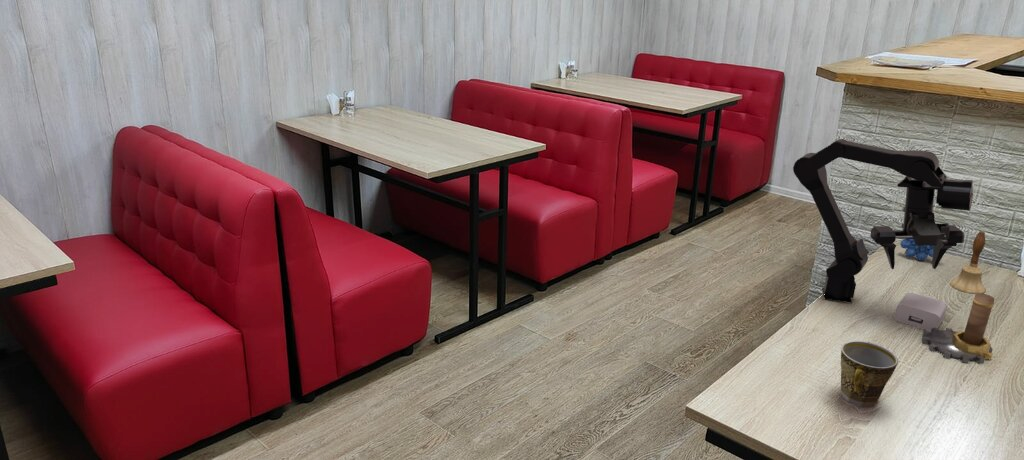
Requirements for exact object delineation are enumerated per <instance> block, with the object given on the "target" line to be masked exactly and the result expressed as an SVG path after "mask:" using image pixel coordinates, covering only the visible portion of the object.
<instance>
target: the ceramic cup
mask: <svg viewBox="0 0 1024 460" xmlns="http://www.w3.org/2000/svg"><path fill="white" fill-rule="evenodd" d="M840 351H841V352H840V370H841V371H840V393H841V396H842V397H843V398H844V399H845V400H846V402H848V403H850V404H852V405H854V406H858V407H860V408H865V407H868V408H869V407H872V408H873V407H875V406H876V405H877V403H878V402H879V400H880V397H881V395H882V393H883V391H884V389H885V387H886V385H887V384H888V382H889V380H890V379H891V377H892V376H893V374H894V372H895V370H896V368H897V366H898V363H899V360H898V357H897V356H896V355H895V354H894V353H893V352H892V351H891V350H889V349H887V348H886V347H884V346H882V345H878V344H876V343H872V342H867V341H860V340H859V341H858V340H854V341H853V340H852V341H849V342H846V343H844V344H842V346H841V350H840Z"/></svg>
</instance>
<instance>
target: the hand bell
mask: <svg viewBox="0 0 1024 460" xmlns="http://www.w3.org/2000/svg"><path fill="white" fill-rule="evenodd" d="M985 233H986V232H984V231H982V230H981V231H980V230H979V232H978V233H977V235H976V236H975V237H974V240H973V242H972V256H971V259H970V263H969V265H964V266H963V267H962V269H961V270H960V273H959V275H957V277H955V278H954V279H952V280H950V282H949V285H950V286H951V287H952V288H953V289H955V290H958V291H959V292H963V293H967V294H973V295H975V294H977V293H982V294H985V293H986V287H985V286H984V284H983V281H982V275H983V274H982V273H983V271H982V269H980V268H979V267H978V265H979V264H978V263H979V259H980V255H981V253H982V251H983V250H984V248H985V245H986V234H985Z"/></svg>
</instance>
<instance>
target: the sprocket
mask: <svg viewBox="0 0 1024 460" xmlns="http://www.w3.org/2000/svg"><path fill="white" fill-rule="evenodd" d="M963 335H964V331H963V330H962V331H961V330H960V331H955V330H953V329H952V328H949V327H946V328H945V329H939V328H932V329H931V331H929V330H926V329H924V331H923V333H922V335H921V336H922V339H921V342H922V344H924V345H930V346H928V350H929V349H930V350H929V351H931V352H932V351H935V352H937V351H938V352H937V353H939V352H940V353H939V354H941V353H942V354H941V355H943V354H944V355H943V358H945V357H946V358H945V359H948V358H950V357H954V358H953V359H955V358H957V359H956V360H959V359H960V360H959V361H960V362H961V361H962V362H961V363H963V362H964V363H965V364H969V362H976V363H978V364H984V363H985V360H987V359H989V360H988V361H991V360H992V358H993V355H994V354H993V353H992V352H993V347H992V346H991V345H992V344H991V343H990V341H989V339H988V338H986V337H984V336H983V339H982V342H981V346H979V345H972V344H968V343H966V342H964V341H962V338H963ZM985 358H986V359H985ZM950 359H951V358H950ZM990 359H991V360H990Z"/></svg>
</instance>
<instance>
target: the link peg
mask: <svg viewBox="0 0 1024 460" xmlns="http://www.w3.org/2000/svg"><path fill="white" fill-rule="evenodd" d="M995 300H996V299H995V298H994V296H992V295H989V294H986V293H977V294H974V297H973V299H972V305H971V308H970V311H969V315H968V319H967V321H966V326H965V329H964V331H963V332H964V335H963V338H962V341H964V342H966V343H968V344H972V345H979V346H981V342H982V339H983V337H984V335H985V332H986V329H987V327H988V323H989V319H990V316H991V313H992V310H993V307H994V304H995Z"/></svg>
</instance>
